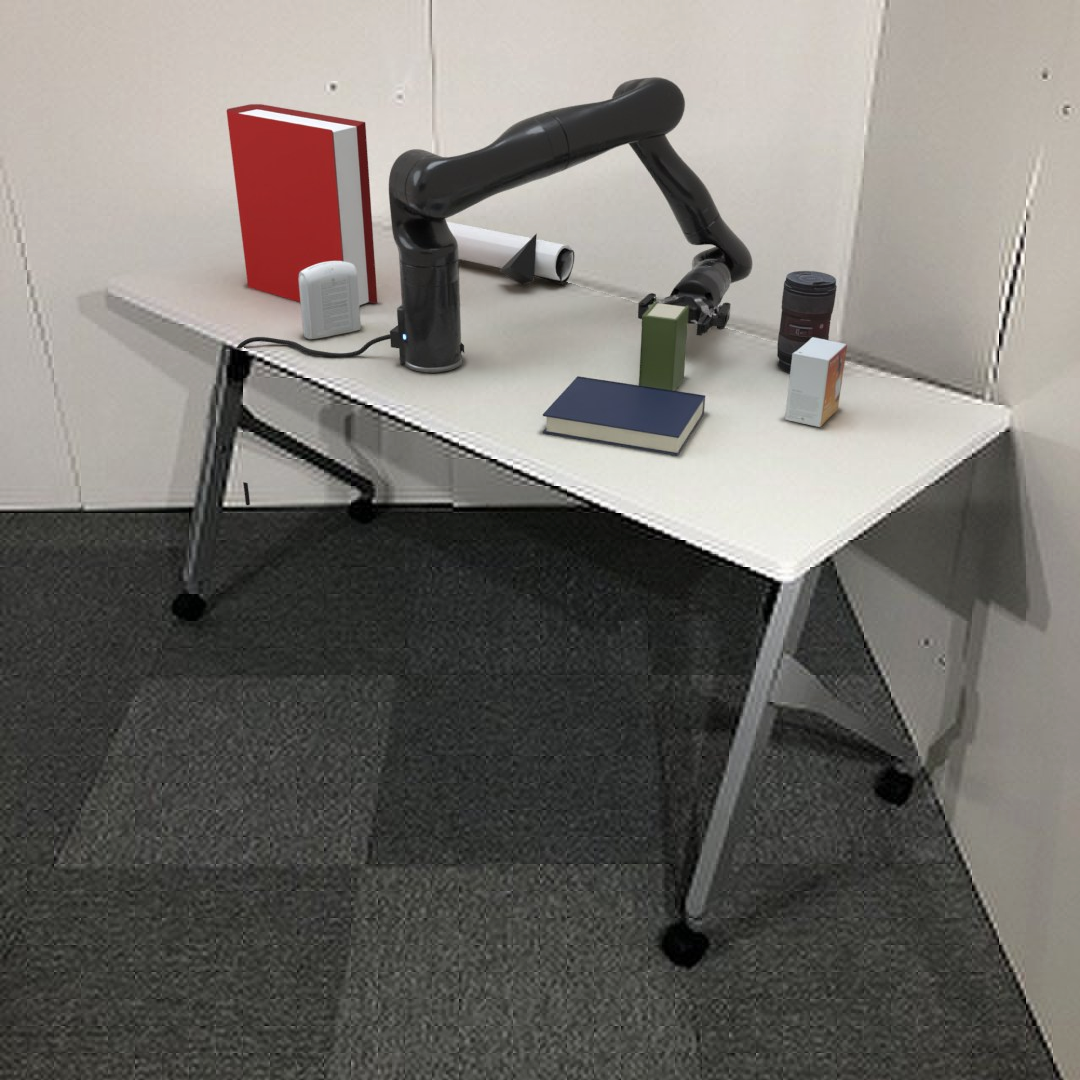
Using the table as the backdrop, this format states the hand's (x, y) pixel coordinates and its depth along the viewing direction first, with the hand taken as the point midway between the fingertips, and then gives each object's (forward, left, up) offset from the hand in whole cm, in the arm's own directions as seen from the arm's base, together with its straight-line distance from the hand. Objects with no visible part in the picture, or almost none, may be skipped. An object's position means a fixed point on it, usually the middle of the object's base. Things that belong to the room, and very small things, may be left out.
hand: (672, 326), depth 187 cm
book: (-73, +12, -8) cm, 75 cm away
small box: (+24, -8, -8) cm, 26 cm away
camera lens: (+19, +10, -8) cm, 23 cm away
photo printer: (-59, -3, -8) cm, 60 cm away
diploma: (-47, +36, -8) cm, 60 cm away
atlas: (-1, -21, -8) cm, 22 cm away
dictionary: (0, -4, -8) cm, 9 cm away
